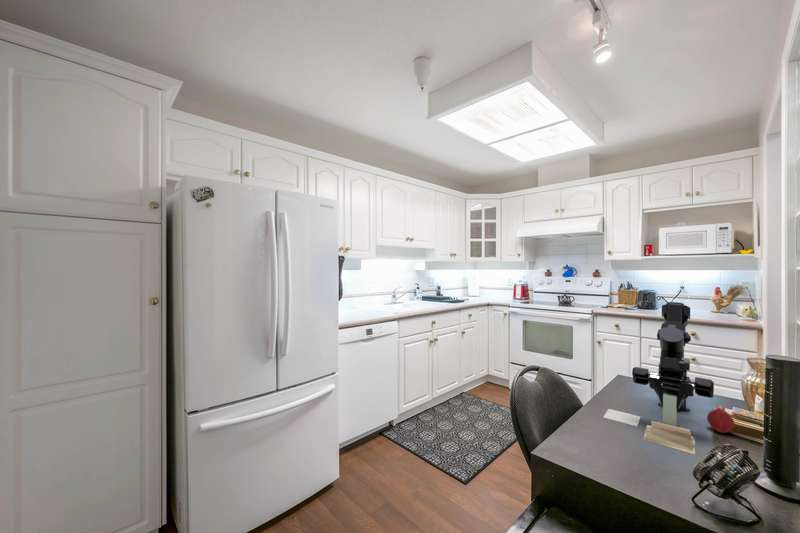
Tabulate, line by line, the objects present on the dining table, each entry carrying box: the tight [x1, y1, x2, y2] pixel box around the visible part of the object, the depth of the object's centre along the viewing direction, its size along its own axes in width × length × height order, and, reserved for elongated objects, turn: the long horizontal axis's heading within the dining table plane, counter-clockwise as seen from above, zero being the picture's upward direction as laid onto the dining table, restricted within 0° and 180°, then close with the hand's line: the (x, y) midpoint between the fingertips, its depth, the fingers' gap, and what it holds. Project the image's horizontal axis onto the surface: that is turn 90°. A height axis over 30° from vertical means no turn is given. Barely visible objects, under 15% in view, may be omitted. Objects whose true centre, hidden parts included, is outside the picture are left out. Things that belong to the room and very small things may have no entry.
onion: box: [706, 405, 735, 434], centre depth 100 cm, size 6×6×8 cm
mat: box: [603, 408, 641, 427], centre depth 109 cm, size 9×9×1 cm
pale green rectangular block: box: [662, 393, 678, 427], centre depth 97 cm, size 3×3×10 cm
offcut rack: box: [642, 420, 696, 455], centre depth 95 cm, size 12×11×5 cm
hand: (669, 407), depth 96 cm, fingers closed on pale green rectangular block, 3 cm apart
